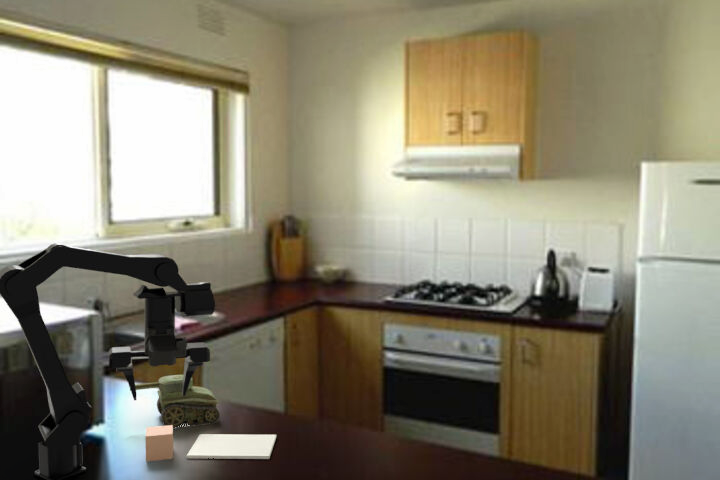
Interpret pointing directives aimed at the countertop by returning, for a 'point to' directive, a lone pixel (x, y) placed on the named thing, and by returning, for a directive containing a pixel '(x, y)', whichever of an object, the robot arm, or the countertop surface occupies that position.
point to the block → (159, 442)
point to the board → (232, 446)
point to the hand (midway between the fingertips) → (159, 397)
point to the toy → (183, 402)
